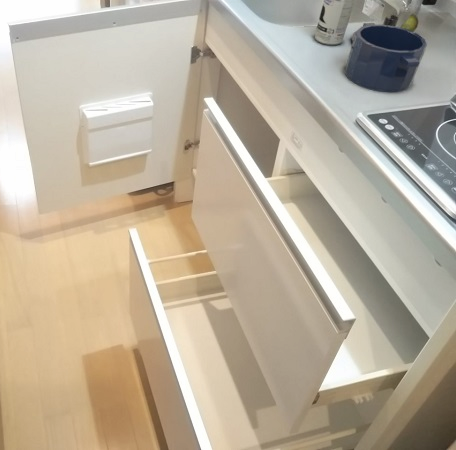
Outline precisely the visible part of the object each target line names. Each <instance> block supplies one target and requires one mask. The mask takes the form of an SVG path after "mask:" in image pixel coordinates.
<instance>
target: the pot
mask: <svg viewBox="0 0 456 450" xmlns="http://www.w3.org/2000/svg"><path fill="white" fill-rule="evenodd" d="M355 31H356V34H355V37H354V40H353V42H352V44H351V47H350V51H349V54H348V58H347V60H346V63H345V69H344V74H345V76H346V78H347V79H348V80H349V81H351V82H352V83H354V84H355V85H357V86H360V87H361V88H364V89H366V90H367V89H368V90H370V91H375V92H382V93H398V92H403V91H405V90H407V89H409V88H410V87H411V85H412V83H413V81H414V79H415V76H416V74H417V72H418V69H419V67H420V64H421V61H422V60H423V57H424V54H425V52H426V50H427V47H428V43H427V41H426V39H425V38H424V37H422V36H421V35H420V34H419V33H417V32H415V31H414V32H412V31H410V30H407V29H404V28H401V26H400V27H399V26H397V25H396V26H390V25H383V24H376V23H374V22H364V23H363V24H362V26H360V27H359V28H357V30H355Z"/></svg>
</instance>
